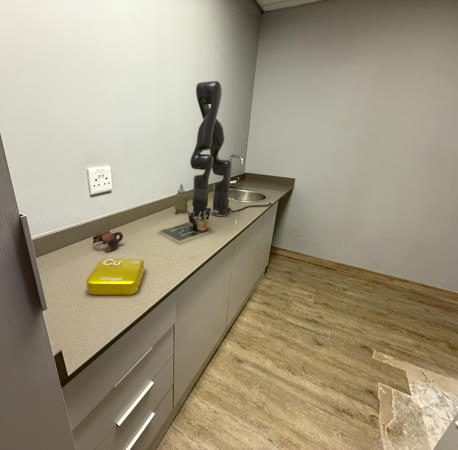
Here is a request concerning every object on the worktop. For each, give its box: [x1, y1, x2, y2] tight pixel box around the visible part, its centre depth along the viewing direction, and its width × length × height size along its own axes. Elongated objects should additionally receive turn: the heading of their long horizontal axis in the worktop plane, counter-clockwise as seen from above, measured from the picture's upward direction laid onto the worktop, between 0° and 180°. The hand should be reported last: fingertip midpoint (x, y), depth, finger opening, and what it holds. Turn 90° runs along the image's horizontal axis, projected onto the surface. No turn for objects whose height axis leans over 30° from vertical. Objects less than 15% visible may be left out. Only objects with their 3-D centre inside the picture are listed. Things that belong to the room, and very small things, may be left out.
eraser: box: [189, 216, 210, 234], centre depth 122 cm, size 5×9×5 cm, turn 45°
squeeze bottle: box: [174, 183, 189, 215], centre depth 147 cm, size 8×8×18 cm
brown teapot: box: [92, 229, 124, 253], centre depth 102 cm, size 12×10×8 cm
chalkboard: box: [159, 221, 213, 242], centre depth 121 cm, size 22×16×1 cm
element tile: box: [86, 258, 145, 296], centre depth 79 cm, size 15×15×5 cm
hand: (199, 229), depth 123 cm, fingers closed on eraser, 5 cm apart
